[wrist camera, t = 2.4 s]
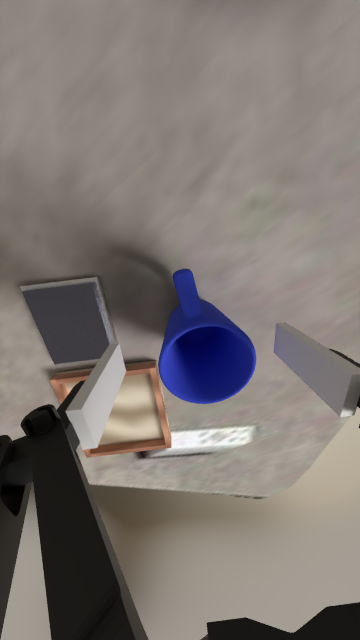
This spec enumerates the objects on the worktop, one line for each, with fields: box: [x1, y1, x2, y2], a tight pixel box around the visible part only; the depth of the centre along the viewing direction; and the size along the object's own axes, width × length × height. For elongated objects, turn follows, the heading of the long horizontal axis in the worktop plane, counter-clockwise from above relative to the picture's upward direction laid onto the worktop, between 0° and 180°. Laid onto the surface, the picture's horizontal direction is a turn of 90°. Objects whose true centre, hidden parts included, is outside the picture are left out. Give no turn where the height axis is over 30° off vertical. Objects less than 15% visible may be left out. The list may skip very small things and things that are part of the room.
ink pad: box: [20, 276, 118, 365], centre depth 23 cm, size 11×9×1 cm
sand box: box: [50, 360, 171, 457], centre depth 28 cm, size 17×15×2 cm
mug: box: [158, 269, 256, 404], centre depth 19 cm, size 8×12×10 cm
